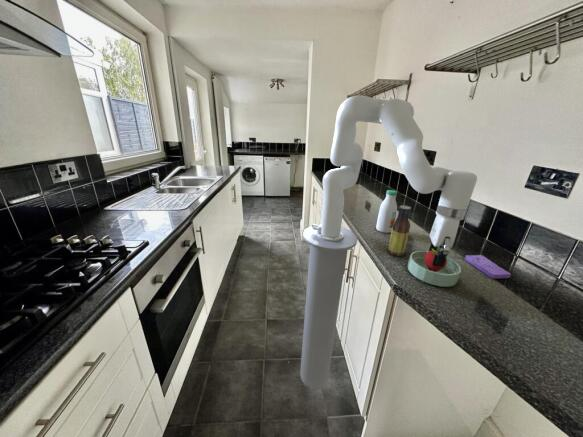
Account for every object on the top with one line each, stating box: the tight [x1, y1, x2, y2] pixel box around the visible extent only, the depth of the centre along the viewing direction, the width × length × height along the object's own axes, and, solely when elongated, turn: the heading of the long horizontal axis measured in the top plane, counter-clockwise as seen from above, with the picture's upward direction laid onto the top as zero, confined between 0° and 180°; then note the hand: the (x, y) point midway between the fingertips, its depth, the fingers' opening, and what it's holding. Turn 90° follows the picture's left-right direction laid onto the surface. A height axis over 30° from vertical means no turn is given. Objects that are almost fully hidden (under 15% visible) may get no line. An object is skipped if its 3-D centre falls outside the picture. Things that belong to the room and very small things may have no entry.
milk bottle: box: [375, 189, 398, 234], centre depth 111 cm, size 8×8×20 cm
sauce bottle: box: [388, 205, 412, 257], centre depth 90 cm, size 7×6×20 cm
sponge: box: [464, 254, 512, 279], centre depth 86 cm, size 7×13×2 cm, turn 5°
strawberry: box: [425, 248, 447, 272], centre depth 79 cm, size 6×8×10 cm
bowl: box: [407, 250, 462, 288], centre depth 80 cm, size 15×15×5 cm
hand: (435, 259), depth 79 cm, fingers closed on strawberry, 7 cm apart
